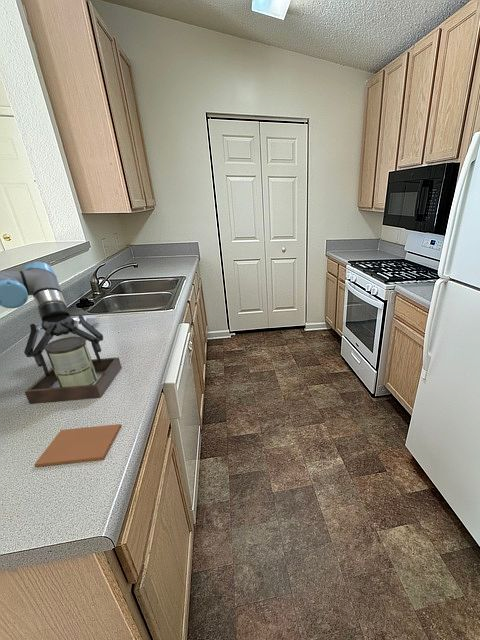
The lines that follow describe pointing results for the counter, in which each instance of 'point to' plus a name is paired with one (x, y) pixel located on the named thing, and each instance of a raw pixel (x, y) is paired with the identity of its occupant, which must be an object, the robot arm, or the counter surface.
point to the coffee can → (71, 362)
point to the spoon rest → (90, 319)
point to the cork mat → (79, 445)
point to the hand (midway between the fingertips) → (74, 367)
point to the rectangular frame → (44, 393)
